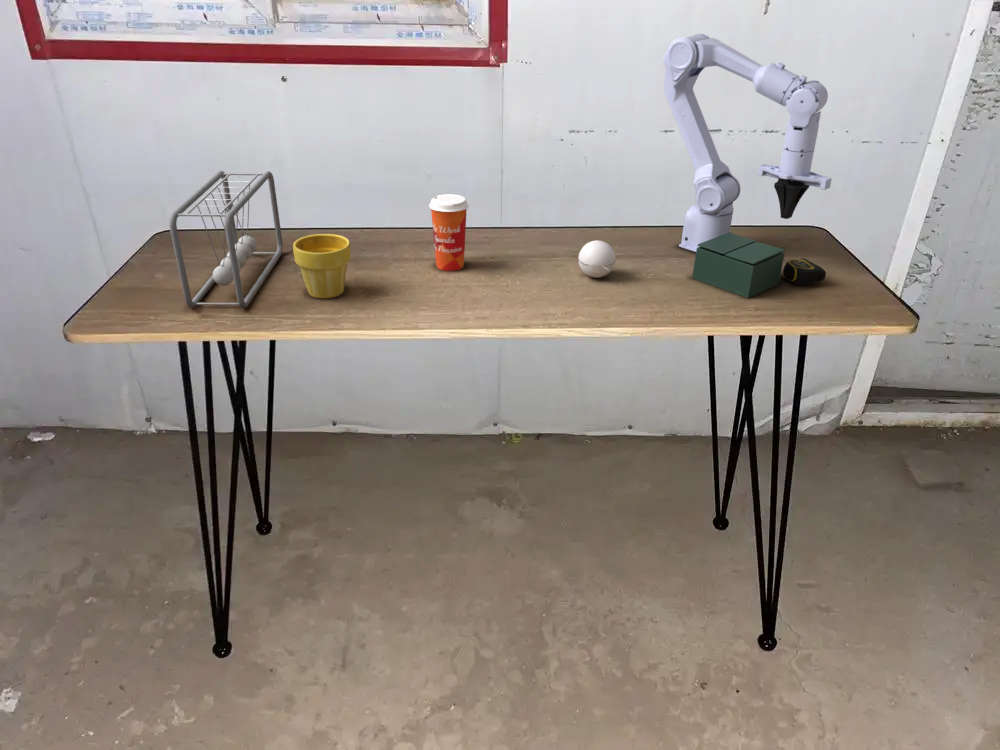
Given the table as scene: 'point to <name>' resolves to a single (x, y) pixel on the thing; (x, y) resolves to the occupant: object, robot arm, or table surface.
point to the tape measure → (803, 272)
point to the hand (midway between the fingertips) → (786, 217)
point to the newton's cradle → (228, 238)
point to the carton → (734, 267)
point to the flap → (755, 252)
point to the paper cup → (449, 230)
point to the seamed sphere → (596, 259)
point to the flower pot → (323, 263)
